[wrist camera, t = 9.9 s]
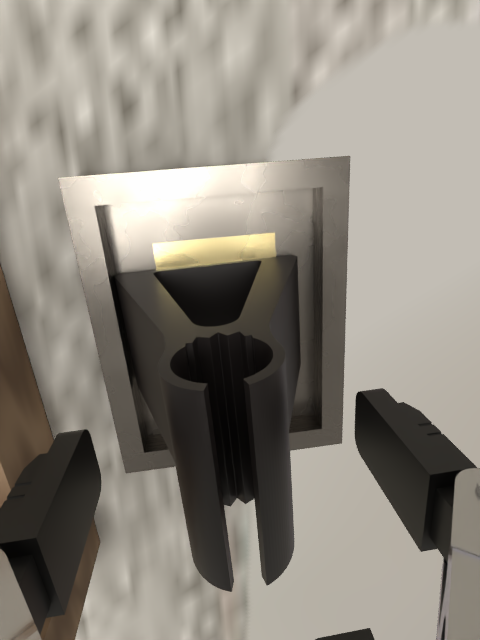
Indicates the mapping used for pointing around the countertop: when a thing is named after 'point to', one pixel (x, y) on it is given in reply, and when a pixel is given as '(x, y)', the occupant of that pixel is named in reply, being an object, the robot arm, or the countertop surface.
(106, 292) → the silver shallow tray
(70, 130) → the countertop surface
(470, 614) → the robot arm
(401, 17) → the countertop surface
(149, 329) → the phone stand
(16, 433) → the door-edge rail
